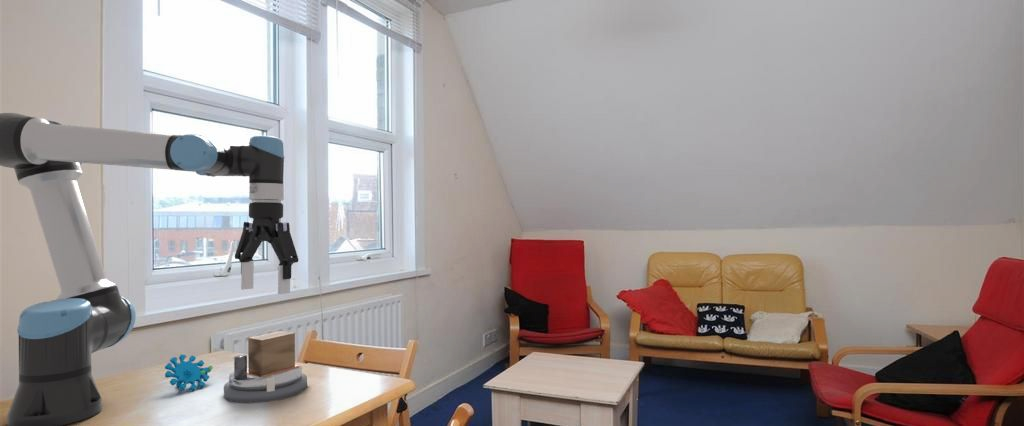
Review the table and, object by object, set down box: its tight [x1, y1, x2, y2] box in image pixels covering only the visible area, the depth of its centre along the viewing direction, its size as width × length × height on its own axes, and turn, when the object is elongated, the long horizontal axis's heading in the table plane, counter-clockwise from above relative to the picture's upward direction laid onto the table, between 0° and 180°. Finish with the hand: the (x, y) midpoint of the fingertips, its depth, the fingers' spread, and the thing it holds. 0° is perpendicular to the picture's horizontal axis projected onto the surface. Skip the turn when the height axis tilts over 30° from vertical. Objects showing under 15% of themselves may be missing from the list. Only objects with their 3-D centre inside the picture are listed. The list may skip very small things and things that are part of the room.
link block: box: [247, 330, 296, 375], centre depth 134 cm, size 5×9×8 cm, turn 150°
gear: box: [164, 354, 214, 392], centre depth 136 cm, size 11×6×10 cm
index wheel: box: [228, 354, 303, 391], centre depth 133 cm, size 16×16×7 cm
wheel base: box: [223, 372, 308, 404], centre depth 133 cm, size 18×18×5 cm
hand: (265, 291), depth 134 cm, fingers open, 13 cm apart
